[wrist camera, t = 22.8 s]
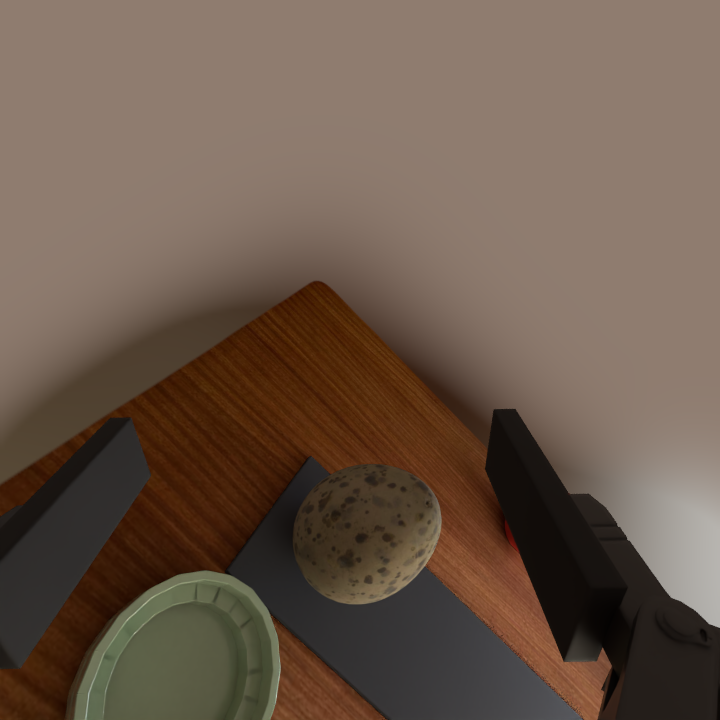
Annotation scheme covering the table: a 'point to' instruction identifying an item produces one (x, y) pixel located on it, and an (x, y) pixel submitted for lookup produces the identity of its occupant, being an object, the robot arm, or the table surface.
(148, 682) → the bowl
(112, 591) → the table surface
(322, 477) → the mat
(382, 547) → the decorative egg
